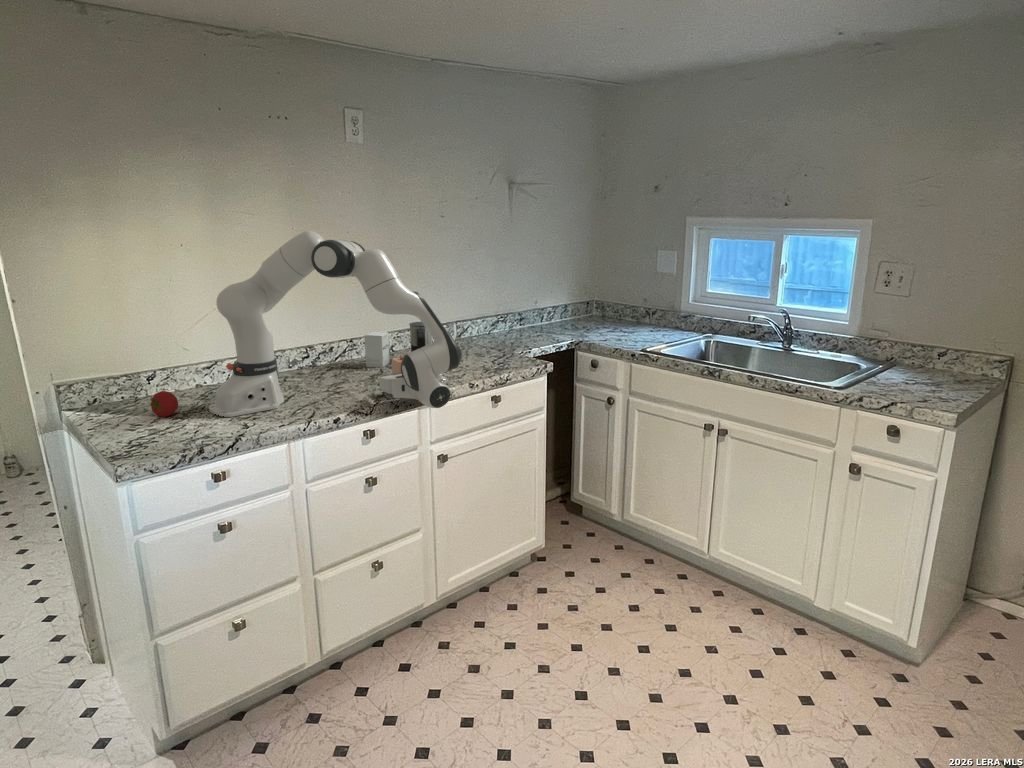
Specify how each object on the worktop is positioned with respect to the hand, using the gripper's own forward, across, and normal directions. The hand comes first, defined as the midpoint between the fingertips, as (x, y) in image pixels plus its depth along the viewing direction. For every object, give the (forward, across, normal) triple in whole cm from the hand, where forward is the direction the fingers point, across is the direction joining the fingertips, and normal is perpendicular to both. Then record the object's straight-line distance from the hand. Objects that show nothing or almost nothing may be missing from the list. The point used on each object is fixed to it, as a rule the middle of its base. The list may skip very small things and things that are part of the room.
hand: (402, 374), depth 216 cm
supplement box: (+43, -6, +7) cm, 44 cm away
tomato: (+16, +70, +7) cm, 72 cm away
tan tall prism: (-1, 0, +6) cm, 6 cm away
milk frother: (+41, -28, +7) cm, 50 cm away
